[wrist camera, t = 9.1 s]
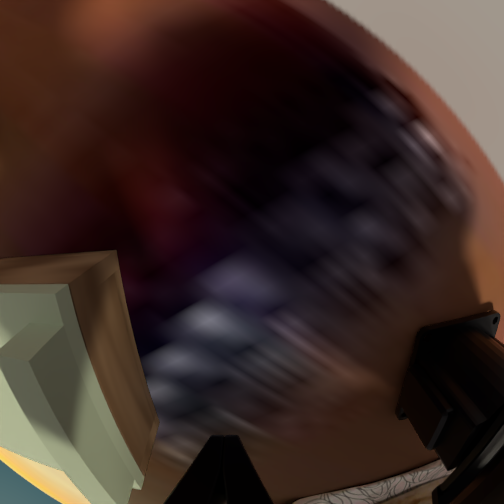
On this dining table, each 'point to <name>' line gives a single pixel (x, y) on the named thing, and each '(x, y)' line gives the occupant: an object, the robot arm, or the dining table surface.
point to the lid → (58, 395)
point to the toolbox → (100, 335)
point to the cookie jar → (389, 489)
